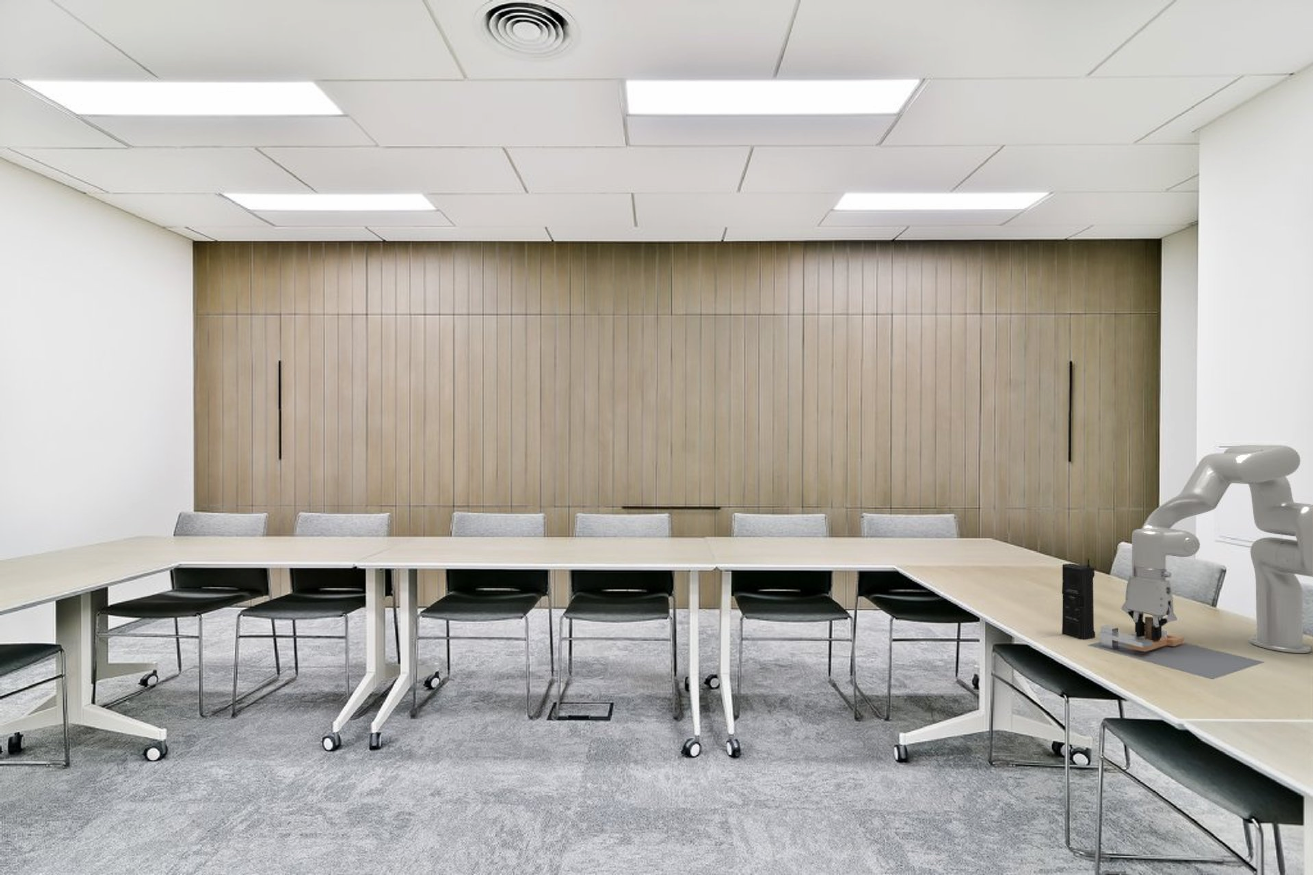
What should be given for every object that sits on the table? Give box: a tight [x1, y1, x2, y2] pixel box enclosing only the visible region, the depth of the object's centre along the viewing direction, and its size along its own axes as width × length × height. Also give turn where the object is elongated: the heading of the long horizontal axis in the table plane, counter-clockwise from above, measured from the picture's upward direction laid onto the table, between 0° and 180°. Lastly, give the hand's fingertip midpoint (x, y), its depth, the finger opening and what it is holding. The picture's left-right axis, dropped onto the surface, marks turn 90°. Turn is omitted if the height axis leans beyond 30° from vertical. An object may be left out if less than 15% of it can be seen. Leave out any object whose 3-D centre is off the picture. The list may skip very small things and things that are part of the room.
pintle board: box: [1087, 629, 1264, 680], centre depth 171 cm, size 27×29×5 cm
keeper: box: [1098, 624, 1153, 649], centre depth 173 cm, size 5×11×7 cm, turn 26°
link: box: [1128, 616, 1185, 652], centre depth 176 cm, size 22×7×8 cm, turn 122°
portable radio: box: [1061, 558, 1096, 641], centre depth 187 cm, size 8×6×25 cm
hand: (1148, 637), depth 175 cm, fingers closed on link, 3 cm apart
